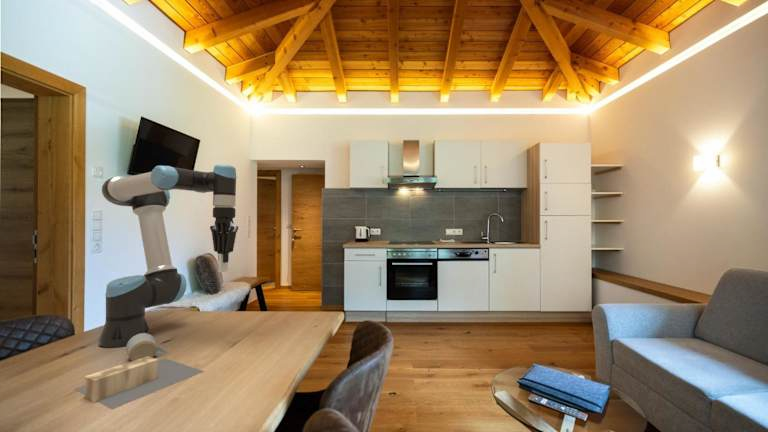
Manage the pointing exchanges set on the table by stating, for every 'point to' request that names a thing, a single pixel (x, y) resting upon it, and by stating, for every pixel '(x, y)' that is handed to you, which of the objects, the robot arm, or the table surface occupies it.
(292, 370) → the table surface
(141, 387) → the felt mat
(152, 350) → the ceramic mug
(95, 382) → the beech block
